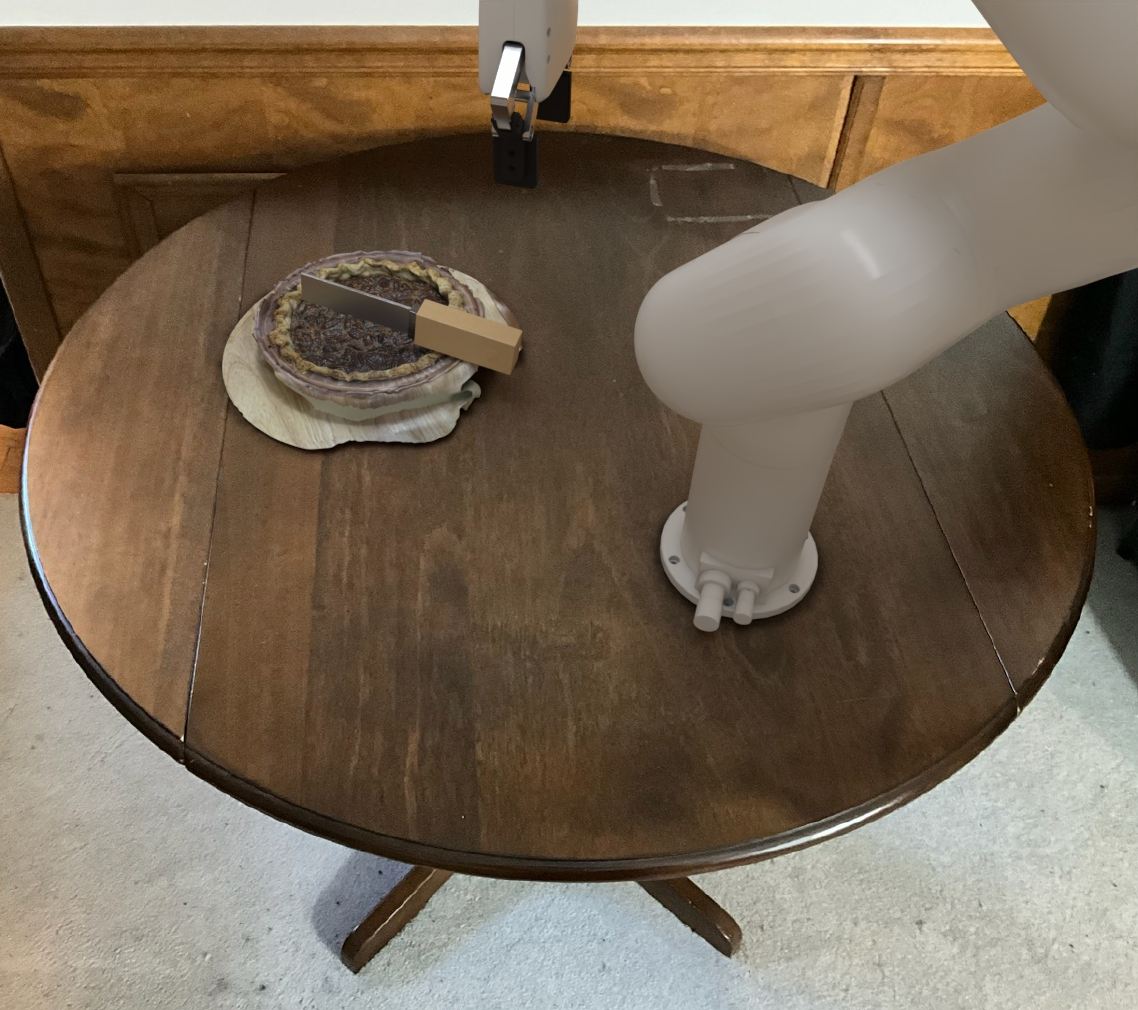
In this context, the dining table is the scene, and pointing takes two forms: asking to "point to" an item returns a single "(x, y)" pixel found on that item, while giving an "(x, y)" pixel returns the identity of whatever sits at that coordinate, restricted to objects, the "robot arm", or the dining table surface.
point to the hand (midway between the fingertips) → (533, 150)
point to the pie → (354, 356)
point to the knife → (424, 323)
